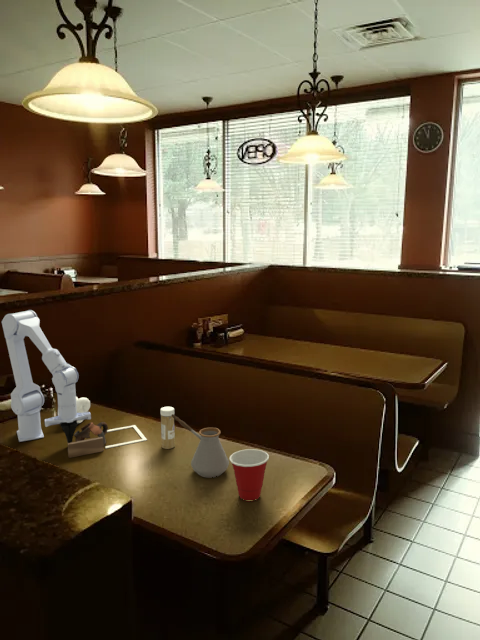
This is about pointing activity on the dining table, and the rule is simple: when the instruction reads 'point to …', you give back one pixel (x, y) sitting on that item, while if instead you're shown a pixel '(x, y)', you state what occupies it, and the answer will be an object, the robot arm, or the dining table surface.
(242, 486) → the plastic cup
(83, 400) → the white knot
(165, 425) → the sprinkles bottle
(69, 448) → the walnut screen
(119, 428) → the bay outline
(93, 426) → the brown curved piece
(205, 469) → the coffee pot
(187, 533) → the dining table surface
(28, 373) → the robot arm
